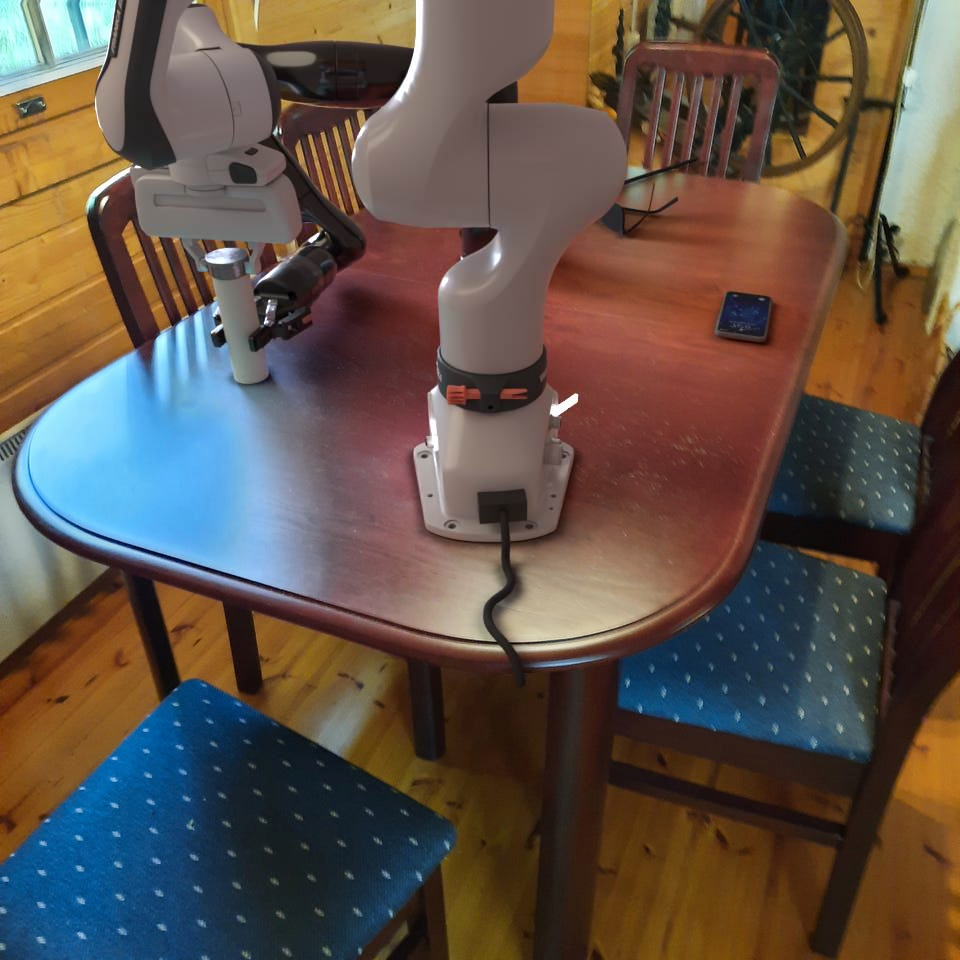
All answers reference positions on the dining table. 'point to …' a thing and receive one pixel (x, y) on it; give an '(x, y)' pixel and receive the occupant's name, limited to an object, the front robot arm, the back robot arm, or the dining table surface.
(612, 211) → the sunglasses
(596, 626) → the dining table surface
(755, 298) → the smartphone
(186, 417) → the dining table surface
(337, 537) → the dining table surface
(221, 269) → the lid
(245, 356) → the white cylinder
